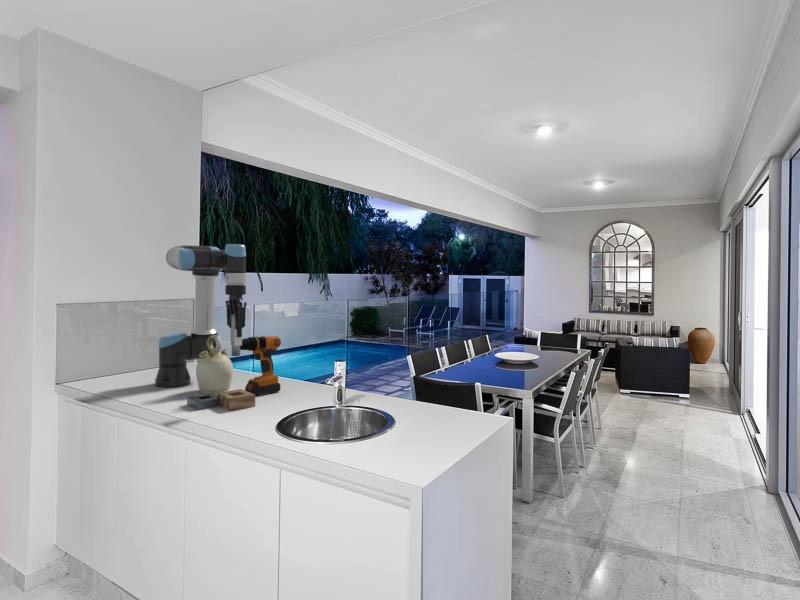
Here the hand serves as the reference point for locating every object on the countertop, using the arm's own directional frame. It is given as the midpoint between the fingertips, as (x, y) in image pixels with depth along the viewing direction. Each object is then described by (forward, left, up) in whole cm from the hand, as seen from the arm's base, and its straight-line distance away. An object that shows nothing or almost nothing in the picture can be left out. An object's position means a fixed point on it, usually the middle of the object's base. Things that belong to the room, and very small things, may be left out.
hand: (236, 344), depth 189 cm
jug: (-30, +4, -24) cm, 39 cm away
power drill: (-13, +16, -24) cm, 32 cm away
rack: (0, 0, -24) cm, 24 cm away
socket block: (-8, -9, -24) cm, 27 cm away
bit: (0, 0, -4) cm, 4 cm away
